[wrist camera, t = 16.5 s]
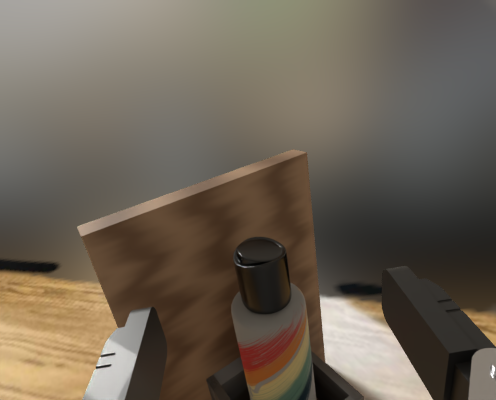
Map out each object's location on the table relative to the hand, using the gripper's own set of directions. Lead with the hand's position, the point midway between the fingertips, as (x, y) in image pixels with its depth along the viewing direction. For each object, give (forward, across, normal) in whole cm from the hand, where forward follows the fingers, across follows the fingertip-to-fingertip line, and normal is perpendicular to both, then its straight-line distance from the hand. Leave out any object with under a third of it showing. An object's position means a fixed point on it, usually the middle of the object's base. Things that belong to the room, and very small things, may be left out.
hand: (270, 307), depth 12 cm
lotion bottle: (+11, 0, +24) cm, 27 cm away
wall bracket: (+12, +1, +29) cm, 32 cm away
